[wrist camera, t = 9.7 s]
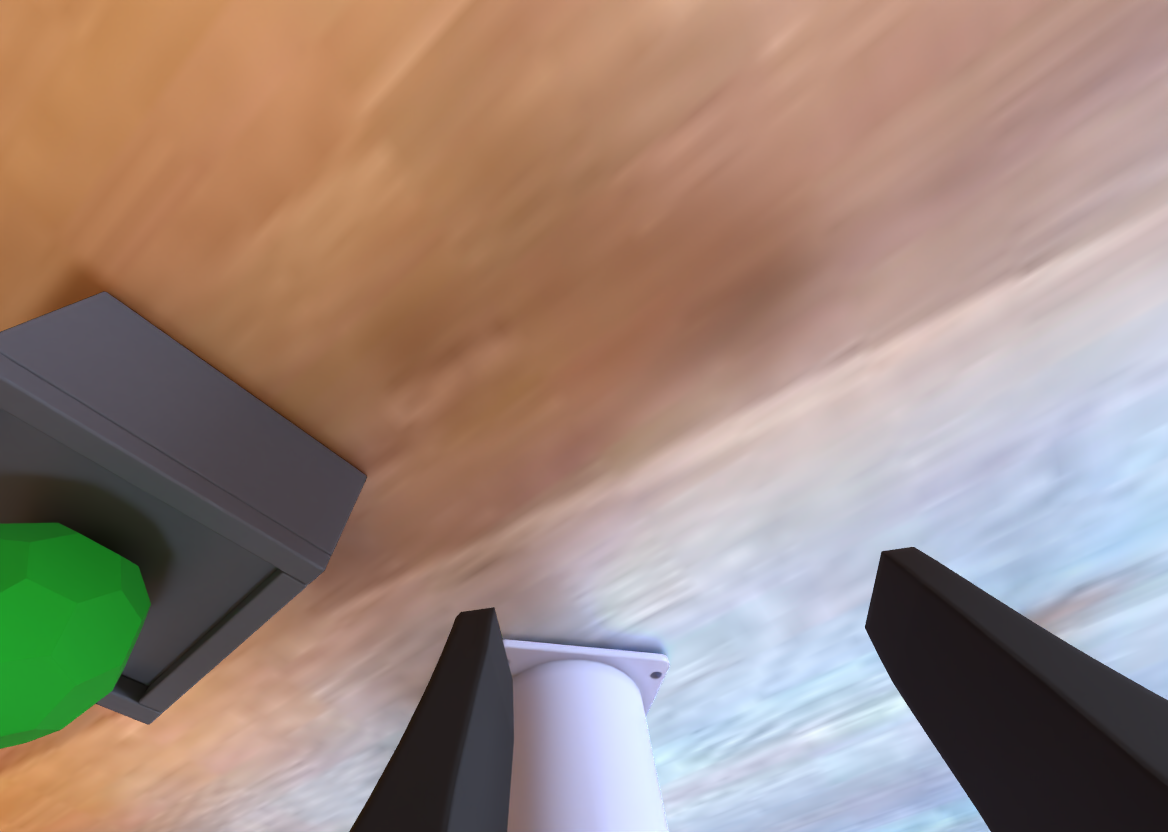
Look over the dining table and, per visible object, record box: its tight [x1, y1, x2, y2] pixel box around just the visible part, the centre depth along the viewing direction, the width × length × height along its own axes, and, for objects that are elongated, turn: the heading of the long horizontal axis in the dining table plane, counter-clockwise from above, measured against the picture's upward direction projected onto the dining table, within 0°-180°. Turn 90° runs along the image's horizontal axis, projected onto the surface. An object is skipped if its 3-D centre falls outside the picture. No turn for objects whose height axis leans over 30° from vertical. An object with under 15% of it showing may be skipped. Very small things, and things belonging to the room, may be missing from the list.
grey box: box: [0, 292, 367, 724], centre depth 16 cm, size 9×9×5 cm
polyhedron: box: [0, 523, 151, 749], centre depth 13 cm, size 5×5×5 cm
